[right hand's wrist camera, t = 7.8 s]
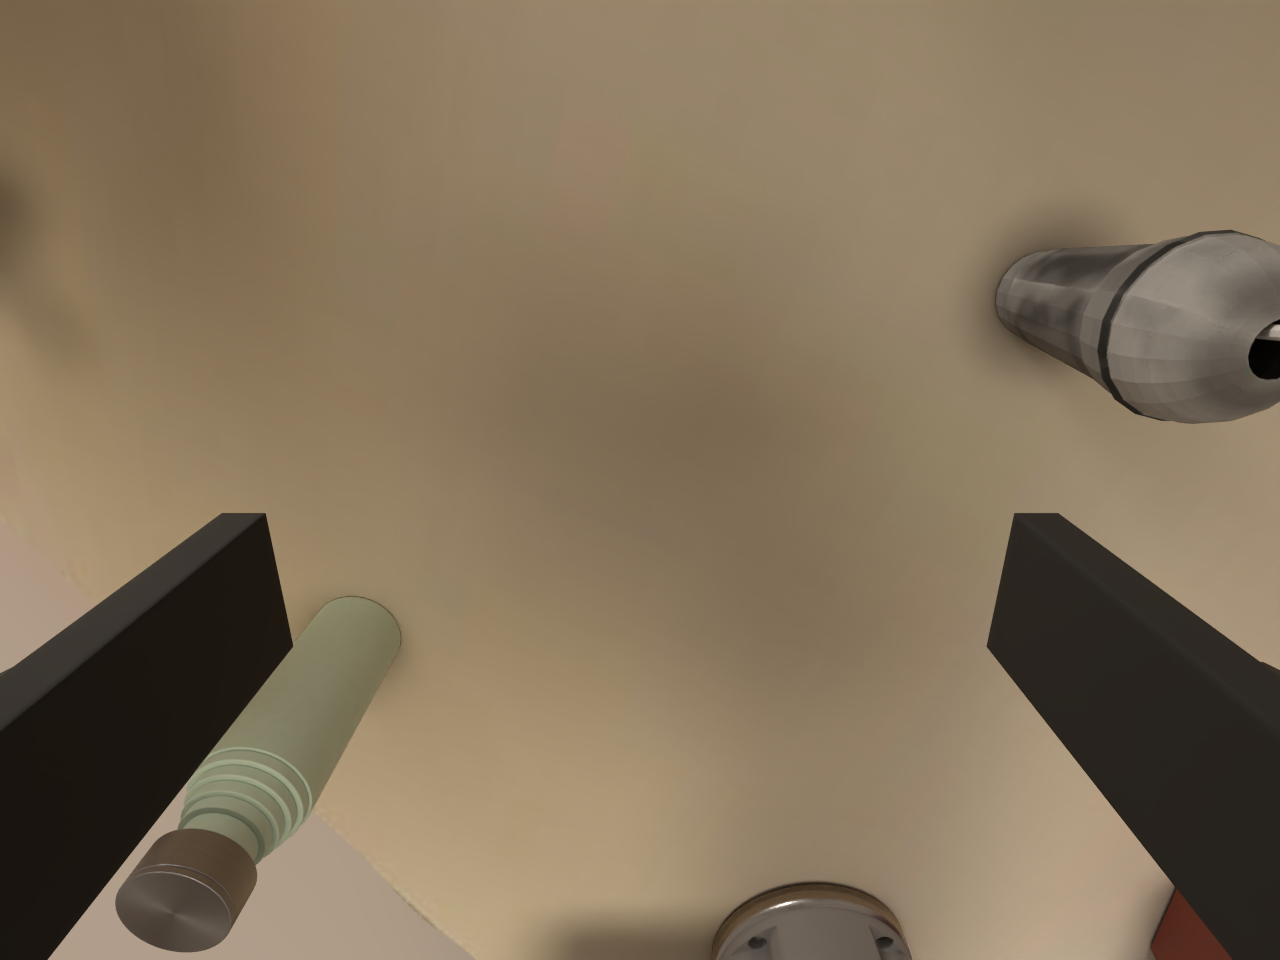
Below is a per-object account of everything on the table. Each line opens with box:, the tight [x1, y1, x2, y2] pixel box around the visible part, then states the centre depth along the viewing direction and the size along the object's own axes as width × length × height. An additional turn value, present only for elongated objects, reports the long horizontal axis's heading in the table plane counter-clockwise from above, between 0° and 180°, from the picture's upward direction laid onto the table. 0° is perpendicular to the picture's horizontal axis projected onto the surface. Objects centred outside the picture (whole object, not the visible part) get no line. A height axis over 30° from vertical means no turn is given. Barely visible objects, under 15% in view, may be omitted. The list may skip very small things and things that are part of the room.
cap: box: [115, 828, 257, 952], centre depth 29 cm, size 4×4×2 cm
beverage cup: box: [996, 230, 1280, 424], centre depth 29 cm, size 7×7×20 cm
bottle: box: [178, 597, 401, 865], centre depth 37 cm, size 6×6×19 cm
